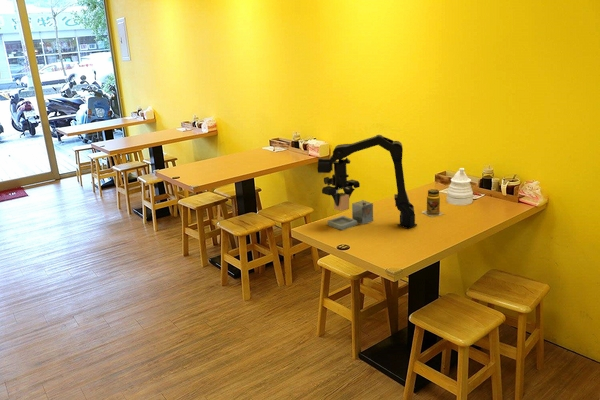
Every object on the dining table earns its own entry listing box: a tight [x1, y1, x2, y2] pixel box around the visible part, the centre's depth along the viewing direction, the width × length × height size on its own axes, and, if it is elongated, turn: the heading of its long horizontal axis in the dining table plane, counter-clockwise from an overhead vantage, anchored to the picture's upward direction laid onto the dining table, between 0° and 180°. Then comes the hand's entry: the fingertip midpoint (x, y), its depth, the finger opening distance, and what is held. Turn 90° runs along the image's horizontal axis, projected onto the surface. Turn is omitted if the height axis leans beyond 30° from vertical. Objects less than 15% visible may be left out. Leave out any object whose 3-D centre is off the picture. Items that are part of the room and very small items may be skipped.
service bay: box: [327, 215, 358, 231], centre depth 242 cm, size 10×10×2 cm
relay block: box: [333, 192, 350, 212], centre depth 238 cm, size 5×5×7 cm
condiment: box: [421, 188, 444, 217], centre depth 248 cm, size 7×8×12 cm
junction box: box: [351, 199, 374, 226], centre depth 244 cm, size 8×7×10 cm
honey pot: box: [446, 167, 474, 206], centre depth 262 cm, size 13×13×18 cm
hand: (341, 204), depth 239 cm, fingers closed on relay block, 5 cm apart
